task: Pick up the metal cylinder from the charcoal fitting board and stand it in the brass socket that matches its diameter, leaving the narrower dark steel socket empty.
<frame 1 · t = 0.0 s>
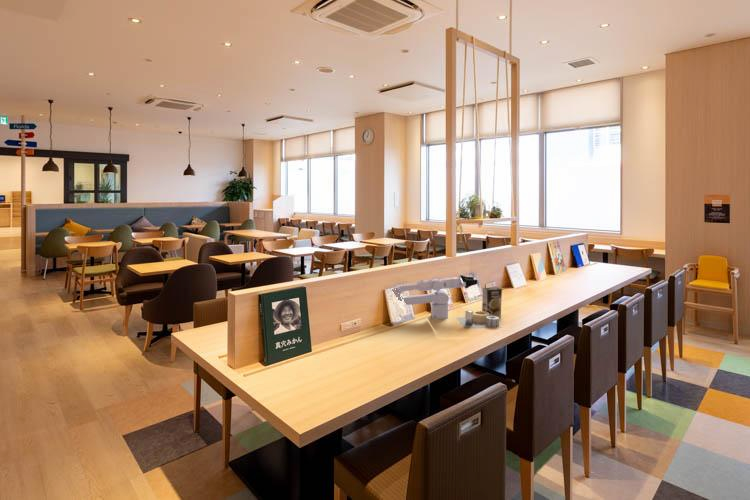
hand: (475, 280, 255), 22 cm above the table, tool horizontal, fingers open, 7 cm apart
fitting board: (478, 324, 246), on the table
coffee box: (491, 315, 263), on the table
metal cylinder: (469, 324, 243), point 1 cm above the table, touching fitting board
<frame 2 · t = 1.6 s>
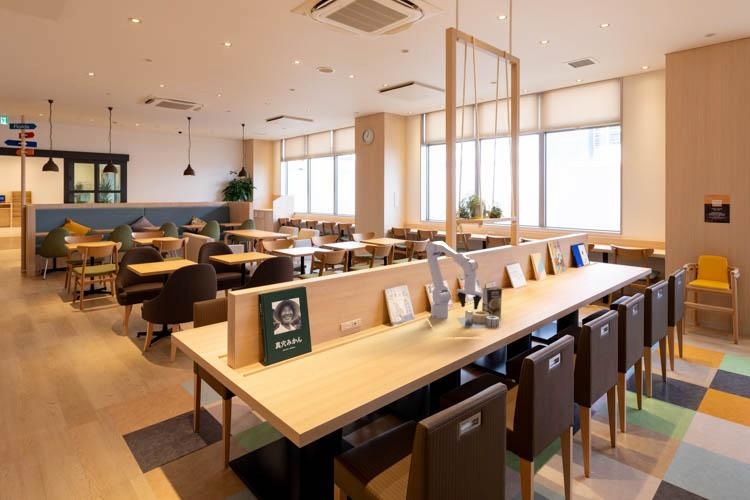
hand: (469, 307, 242), 10 cm above the table, tool pointing down, fingers open, 7 cm apart
nothing on the table moved.
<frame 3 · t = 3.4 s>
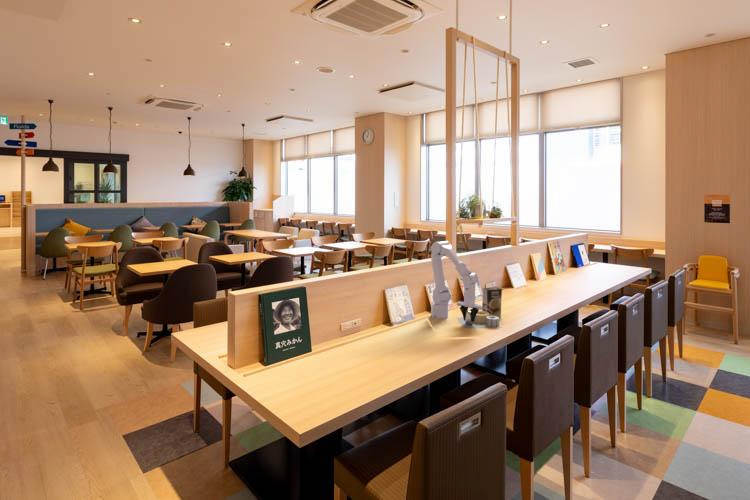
hand: (469, 320, 243), 3 cm above the table, tool pointing down, fingers closed on metal cylinder, 4 cm apart
metal cylinder: (469, 324, 243), point 1 cm above the table, touching fitting board, gripper
everything else where it was.
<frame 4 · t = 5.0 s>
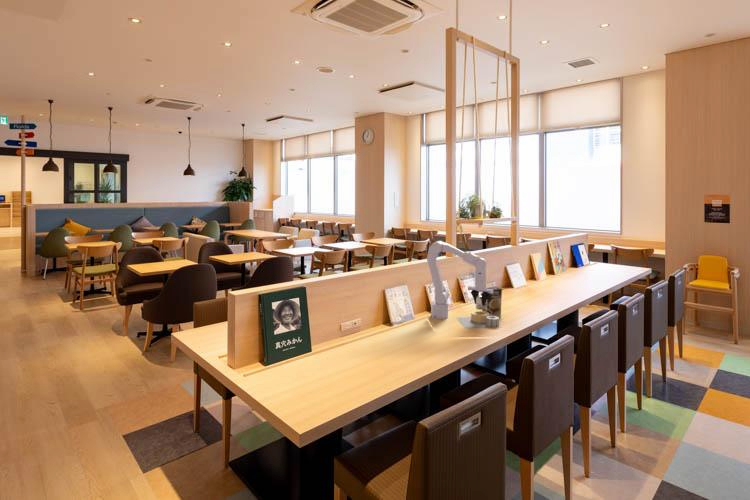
hand: (480, 304, 249), 10 cm above the table, tool pointing down, fingers closed on metal cylinder, 4 cm apart
metal cylinder: (479, 308, 249), point 8 cm above the table, touching gripper
everything else where it was.
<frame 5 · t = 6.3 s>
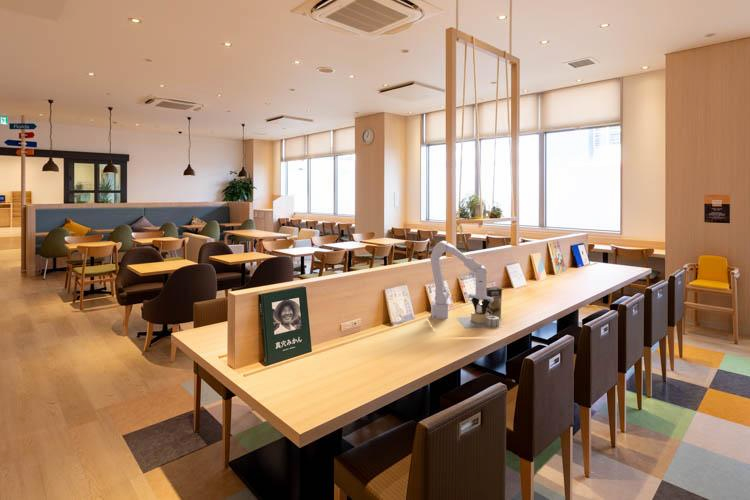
hand: (480, 312, 250), 5 cm above the table, tool pointing down, fingers closed on metal cylinder, 4 cm apart
metal cylinder: (480, 316, 250), point 3 cm above the table, touching gripper
everything else where it was.
when the fingers open (5 cm above the table, at t = 6.9 s): metal cylinder drops 2 cm, resting on fitting board.
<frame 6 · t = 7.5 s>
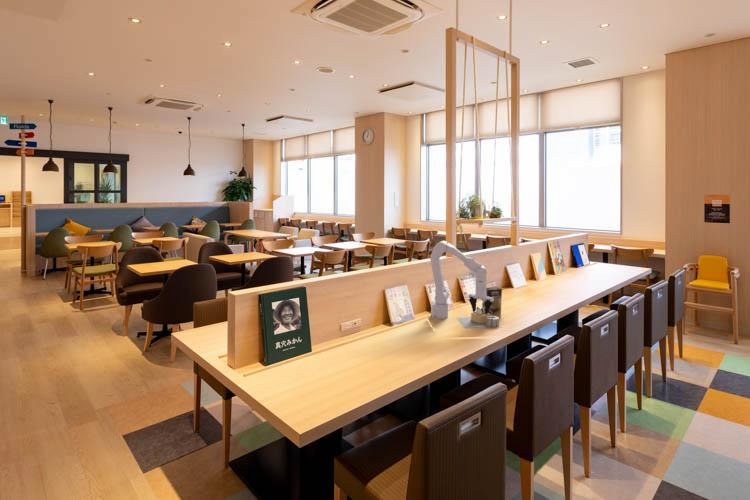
hand: (480, 312, 250), 5 cm above the table, tool pointing down, fingers open, 7 cm apart
metal cylinder: (479, 320, 250), point 1 cm above the table, touching fitting board
everything else where it was.
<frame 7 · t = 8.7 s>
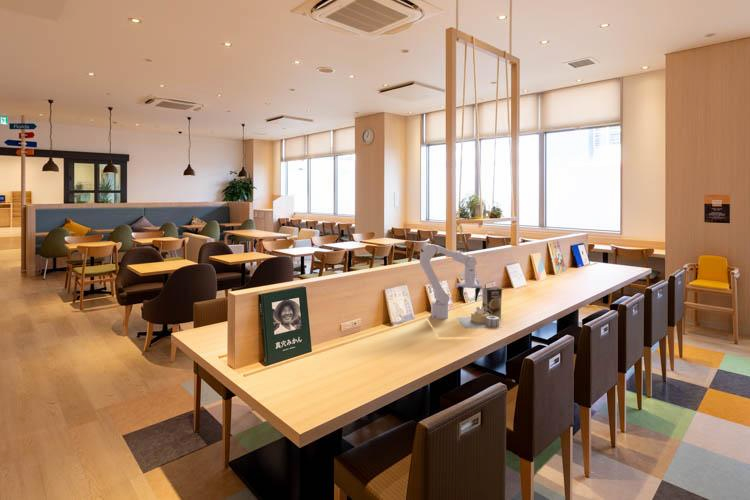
hand: (469, 300, 259), 10 cm above the table, tool pointing down, fingers open, 7 cm apart
nothing on the table moved.
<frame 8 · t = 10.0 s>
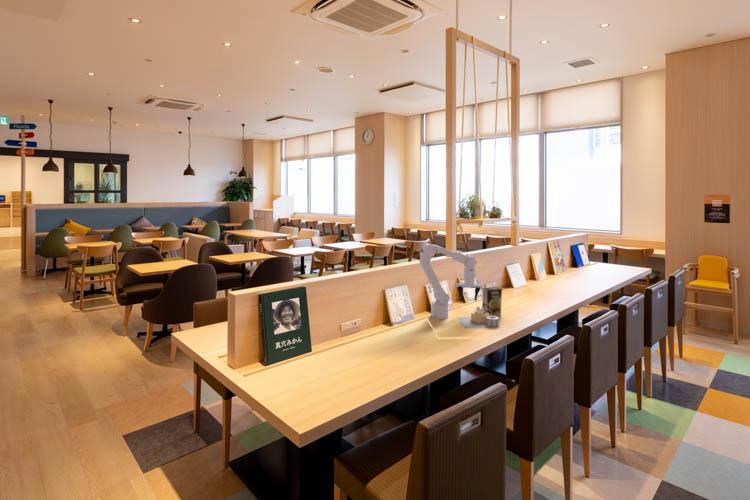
hand: (468, 300, 259), 10 cm above the table, tool pointing down, fingers open, 7 cm apart
nothing on the table moved.
at the end: metal cylinder 0.2 cm from the target spot on the fitting board, point 1.0 cm above the fitting board's base; metal cylinder tilted 0°; the gripper is holding nothing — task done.
